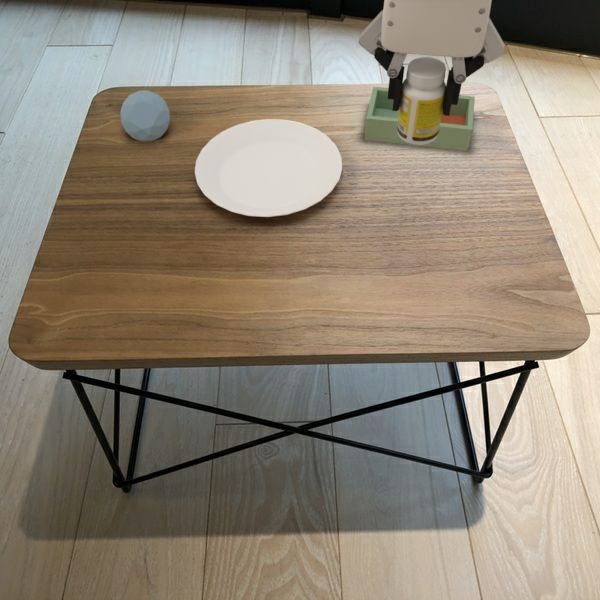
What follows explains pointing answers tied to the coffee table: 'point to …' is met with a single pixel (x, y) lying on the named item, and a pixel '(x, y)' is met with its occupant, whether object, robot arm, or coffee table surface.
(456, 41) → the robot arm
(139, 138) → the gemstone
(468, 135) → the holder
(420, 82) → the supplement bottle
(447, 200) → the coffee table surface
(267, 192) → the plate
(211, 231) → the coffee table surface
